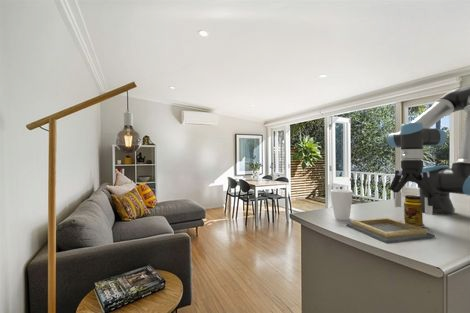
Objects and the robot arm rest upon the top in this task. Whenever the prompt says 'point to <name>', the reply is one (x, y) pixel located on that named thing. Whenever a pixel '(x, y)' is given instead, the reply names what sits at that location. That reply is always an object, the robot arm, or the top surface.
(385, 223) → the wooden rimmed tray
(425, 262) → the top surface
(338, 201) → the foam cup
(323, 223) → the top surface
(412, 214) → the condiment
